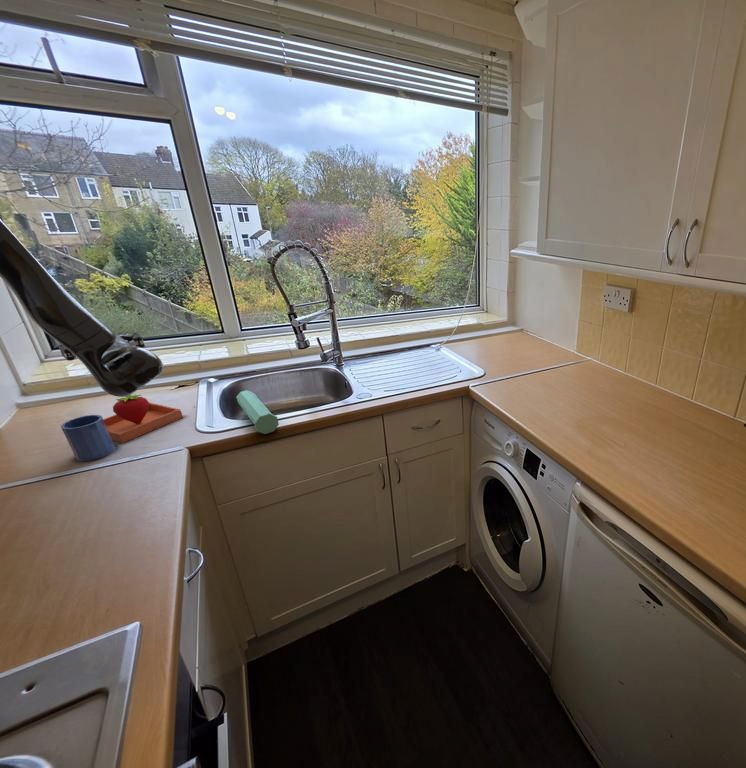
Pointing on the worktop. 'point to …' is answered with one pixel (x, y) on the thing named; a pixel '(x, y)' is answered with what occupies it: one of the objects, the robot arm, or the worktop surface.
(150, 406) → the terracotta tray
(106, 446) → the blue cup
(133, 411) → the strawberry
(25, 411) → the worktop surface
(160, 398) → the worktop surface
